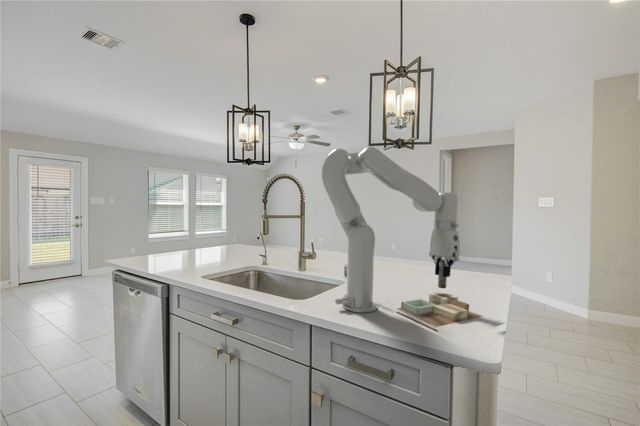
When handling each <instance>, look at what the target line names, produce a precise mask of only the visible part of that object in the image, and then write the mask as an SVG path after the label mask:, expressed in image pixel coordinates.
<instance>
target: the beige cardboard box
mask: <svg viewBox="0 0 640 426" xmlns="http://www.w3.org/2000/svg"><path fill="white" fill-rule="evenodd" d="M433 313H434V314H437V315H439V316H442V317H444V318H447V319H449V320H451V321H456V320H460V319H465V318H467V316H468V310H465V309H462V308H459V307H457V306H454V305H451V304H448V303H447V304H441V305H436V306H433Z"/></svg>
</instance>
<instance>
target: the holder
mask: <svg viewBox="0 0 640 426" xmlns="http://www.w3.org/2000/svg"><path fill="white" fill-rule="evenodd" d="M453 299H454V300H457V301H459V296H456V295H453V294H451V293H450V294H449V293H447V292H444V291H439V292H434V293H429V294H428V302H430V303H433V304H436V305H441V304H447V303H448V304H450V300H453Z"/></svg>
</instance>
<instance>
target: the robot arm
mask: <svg viewBox="0 0 640 426" xmlns="http://www.w3.org/2000/svg"><path fill="white" fill-rule="evenodd" d="M321 168H322V169H321V179H322V184H323V186H324V189H325V191H326V193H327V196H328V198H329V200H330V202H331V204H332V206H333V208H334V212H335V215H336V217H337V219H338V222H339V223H340V225H341V227H342V229H343V231H344V233H345V235H346V238H347V239H348V241H347V242H348V249H347V281H346V283H347V285H346V287H347V288H346V292H347V293H346V294H344V297H342V298H336V299H335V304H336V305H342V307H343V309H344V310H347V311H349V312H353V313H359V314H361V313H365V314H366V313H372V312H375V311H376V310H377V307H378V306H377V303H375V302H373V300H374V299H373V295H374V290H373V289H374V260H375V259H374V258H375V257H374V255H375V246H376V245H375V244H376V235H375V232H374V229H373V228H372V227H371V225H369V224H368V223H367V221H366V219H365V217H364V215H363V213H362V211H361V206H360V203H359V202H358V200H357V198H356V197H355V195H354V193H353V192H352V189H351V188H350V187H351V186H350V184H349V183H348V181H347V177H346V176H347V175H357V174H358V175H359V174H366V173H369V174H371V175H372V176H374V178H376V179H378V180H379V181H380V182H381V183H382V184H384V185H385V186H386V187H387V188H389V189H391V190H394V191H397V192H400V193H402V194H404V195H405V196H407V197H408V198H410V199H411V200H412V206H413V207H414V209H416V210H417V211H419V212H434V225H433V229H432V232H431V236H430V243H429V253H428V255H429V257H430V258H431V259H432V260H433V263H434V264H435V265H434V266H435V270H434V275H436V276H439V260H443V258H444V260H445V266H443V277H447V278H450V277H451V267H452V266H453V265H454V264H455V263H457V262H459V261H460V254H461V253H460V251H461V250H460V249H461V247H460V235H459V230H457V228H459V224H458V223H457V219H458V201H459V199H458V198H459V197H458V194H457V193H455V192H438V191H437V190H436V189H435V188H434V187H432V186H431V185H430V184H428V183H427V182H426V181H424V180H423V179H422V178H420V177H419V176H417V175H415V174H413V173H411V172H410V171H408V170H406V169H405V168H403V167H401V165H399V164H397V163H396V162H395V161H394V160H393V159H391V158H390V157H388V156H387V155H386V154H384V153H383V152H382V151H380V149H378V148H376V147H374V146H368V147H365V148H364V149H362V150H361V151H359V152H351V153H350V152H348V151H347V150H346V149H343V148H335V149H333V150H332V151H330V153H329V154H328V155H327V157H326V158H325V159H324V162H323V165H322V167H321Z"/></svg>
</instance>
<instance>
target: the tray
mask: <svg viewBox="0 0 640 426" xmlns="http://www.w3.org/2000/svg"><path fill="white" fill-rule="evenodd" d="M433 306H436V304H433V303H430V302H429V300H428V301H427V300H426V299H425V300H424V299H422V298H417V299H411V300H410V299H409V300H403V301H401V304H400V308H401V309H403V310H405V311H407V312H410V313H412V314H414V315H416V316H419V315H424V314H429V313H433Z"/></svg>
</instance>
